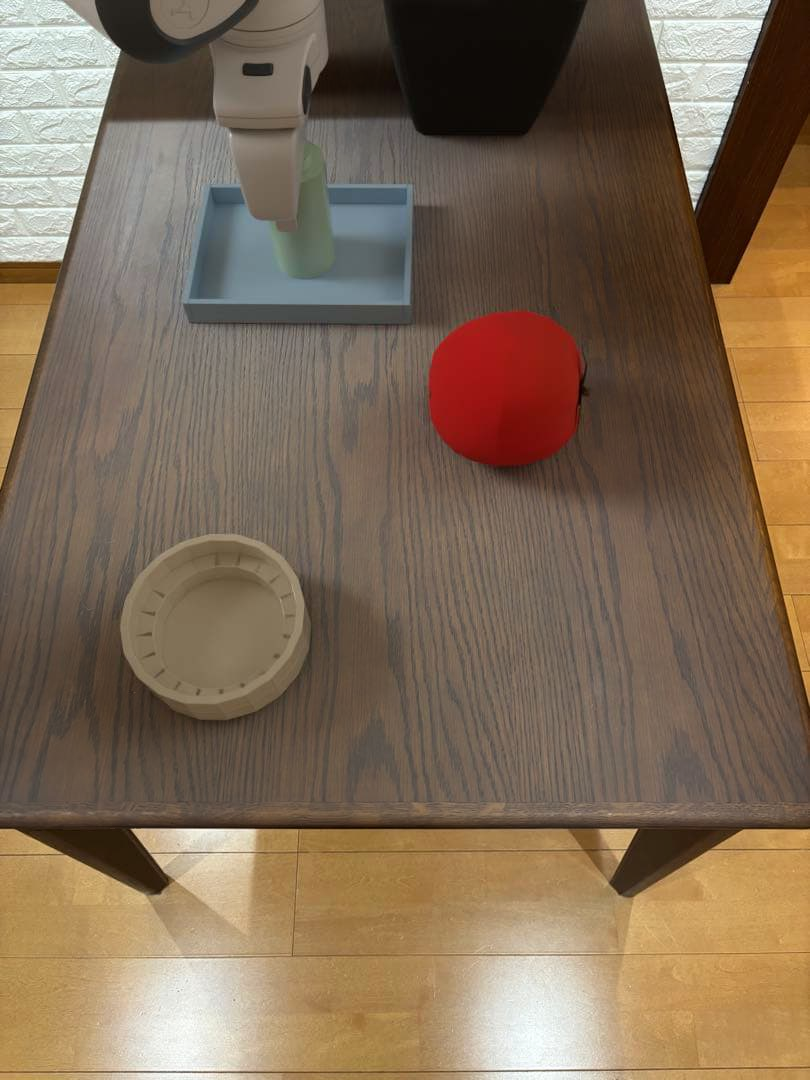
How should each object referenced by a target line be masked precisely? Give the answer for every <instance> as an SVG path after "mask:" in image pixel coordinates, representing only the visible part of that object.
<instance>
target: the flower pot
mask: <svg viewBox="0 0 810 1080" xmlns="http://www.w3.org/2000/svg"><path fill="white" fill-rule="evenodd" d="M382 1H383V2H382V3H383V10H384V17H385V22H386V28H387V34H388V39H389V44H390V49H391V54H392V59H393V63H394V67H395V72H396V76H397V79H398V82H399V86H400V89H401V92H402V96H403V99H404V102H405V105H406V108H407V111H408V114H409V117H410V119H411V122H412V123H413V124H412V125H413V127H414V129H415V130H416V132H417V133H420V134H424V135H524V134H527V133H529V132H530V130H531V129H532V128H533V125H534V124H535V123H536V121H537V120H538V118H539V116H540V115H541V113H542V111H543V109H544V107H545V106H546V104H547V102H548V100H549V98H550V97H551V94H552V92H553V90H554V88H555V86H556V84H557V82H558V80H559V77H560V76H561V74H562V71H563V69H564V66H565V64H566V62H567V59H568V57H569V54H570V52H571V49H572V47H573V44H574V42H575V39H576V36H577V33H578V30H579V28H580V25H581V22H582V20H583V16H584V13H585V10H586V7H587V4H588V1H589V0H382Z"/></svg>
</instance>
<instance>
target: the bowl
mask: <svg viewBox="0 0 810 1080" xmlns="http://www.w3.org/2000/svg"><path fill="white" fill-rule="evenodd" d="M124 599H125V600H124V603H123V607H122V612H121V620H120V623H119V631H120V639H121V645H122V652H123V655H124V657H125V658H126V661H127V662H128V664H129V666H130V668H131V670H132V671H133V673H134V674H135V676H136V677H137V679H138V680H139V681H140V682H141V683H142V684H143V685H144V686H145V687H146V688H147V689H148V690H149V691H150V692H151V693H152V694H153V695H154V696H155V697H157V698H158V699H159V700H160V701H161V702H163V703H164V704H165V705H166V706H167V707H168V708H170V709H171V710H172V711H174V712H177V713H179V714H182V715H184V716H185V715H186V716H188V717H192V718H193V719H197V720H200V721H201V720H203V721H204V720H205V721H206V720H207V721H229V720H232V719H235V718H240V717H242V716H247V715H250V714H253V713H255V712H258V711H259V710H261V709H262V708H264V707H265V706H267V705H268V704H270V703H272V702H273V701H275V700H276V699H278V698H279V697H281V695H283V693H284V692H285V691H286V690H287V689H288V687H289V686H291V684H292V683H293V682H294V680H295V679H296V678H297V676H299V674H300V672H301V669H302V667H303V665H304V663H305V661H306V657H307V655H308V653H309V651H310V645H311V644H310V642H311V632H312V631H311V630H312V622H311V617H310V613H309V609H308V606H307V602H306V598H305V595H304V592H303V589H302V586H301V582H300V580H299V577H298V575H297V574H296V572H295V571H294V569H293V568H292V567H291V565H290V564H289V563H288V562H287V560H286V558H285V557H284V556H283V555H281V554H280V553H279V552H278V551H276V550H275V549H273V548H272V547H270V546H269V545H267V544H266V543H264V542H263V541H260V540H256V539H254V538H251V537H247V536H245V535H241V534H236V533H209V534H204V535H201V536H197V537H194V538H190V539H184V540H183V541H181V542H179V543H177V544H176V545H174V546H172V547H170V548H168V549H167V550H165V551H163V552H162V553H160V554H159V555H157V556H156V557H155V558H154V559H153V560H152V561H151V562H150V563H149V564H148V565H147V566H145V568H144V569H143V570H142V571H141V572H140V573H139V574H138V575H137V577H136V579H135V580H134V583H133V585H132V586H131V588H130V590H129V591H128V593H127V595H126V597H125V598H124Z"/></svg>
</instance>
